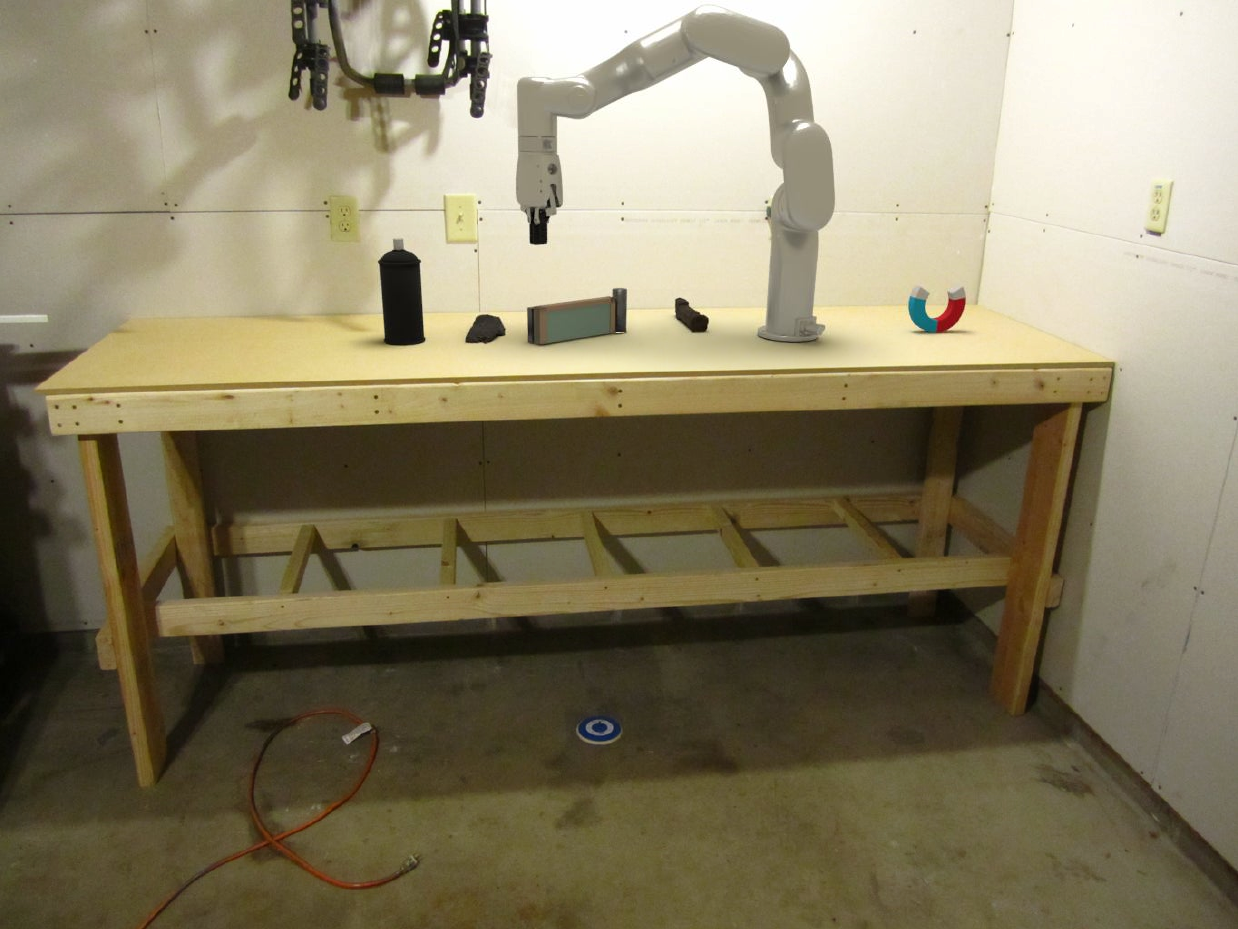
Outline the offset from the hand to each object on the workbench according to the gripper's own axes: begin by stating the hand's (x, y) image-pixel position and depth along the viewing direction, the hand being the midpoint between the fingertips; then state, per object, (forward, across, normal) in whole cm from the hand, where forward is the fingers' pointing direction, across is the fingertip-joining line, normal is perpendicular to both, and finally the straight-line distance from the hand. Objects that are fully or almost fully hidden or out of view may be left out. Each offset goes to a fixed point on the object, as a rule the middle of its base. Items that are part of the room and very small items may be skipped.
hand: (538, 243), depth 187 cm
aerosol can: (+19, +13, +24) cm, 33 cm away
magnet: (+18, -46, -71) cm, 87 cm away
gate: (+18, -6, -5) cm, 20 cm away
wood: (+19, +10, +6) cm, 23 cm away
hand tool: (+19, -8, -34) cm, 40 cm away
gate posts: (+19, -5, -6) cm, 20 cm away
